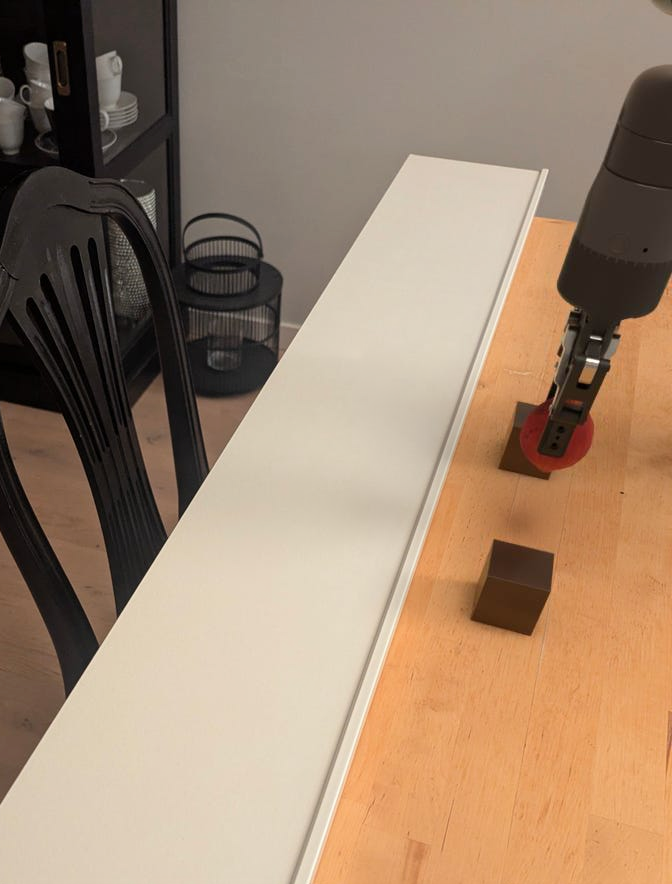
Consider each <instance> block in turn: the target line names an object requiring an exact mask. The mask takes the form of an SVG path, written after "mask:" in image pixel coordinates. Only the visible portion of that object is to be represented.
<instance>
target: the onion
mask: <svg viewBox="0 0 672 884" xmlns="http://www.w3.org/2000/svg"><path fill="white" fill-rule="evenodd" d="M553 400H554V397H553V398H550V399H548V400H547V401H545V400H544V401H543V402H541V403H539V404H537V405H538V406H537V407H535V408H534V409H533V410H532V411H531V412H530V414H529V415H528V417H527V418H526V420H525V422H524V424H523V426H522V429H521V433H520V443H521V447H522V450H523V452H524V454H525V455H526V457H527V458H528V460H529V461H530V462H532V463H533V464H534V465H535V466H536V467H537V468H538V469H539V470H540V471H541V472H546V473H549V472H551V471H552V472H554V471H558V470H559V471H560V470H564V469H567V468H570V467H573V466H574V465H576V464H577V463H579V462H580V461H582V459H583V458H585V457H586V456H587V454H588V452H589V451H590V449H591V447H592V443H593V439H594V435H595V424H594V419H593V418H592V416H591V413H590V412H589V414H588V418H587V421H586V422H585V423H584V425H583V426H578V425H576V428H575V430H574V433H573V435H572V438H571V440H570V442H569V445H568V447H567V450H566V452H565V455H564V456H563V457H562V458H553V457H549V456H544V455H540V454H539V453H538V452H537V447H538V443H539V440H540V438H541V435H542V433H543V430H544V427H545V425H546V422H547V419H548V417H549V413H550V411H549V408H550V405H551V404H552V403H553ZM579 402H580V401H576V400H571V399H568V400H566V401H565V403H570V404H575V405H579ZM552 472H551V473H552Z"/></svg>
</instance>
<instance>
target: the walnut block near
mask: <svg viewBox="0 0 672 884" xmlns="http://www.w3.org/2000/svg"><path fill="white" fill-rule="evenodd" d="M554 563H555V553H554V552H549V551H545V550H541V549H537V548H533V547H529V546H525V545H521V544H516V543H512V542H508V541H504V540H500V539H495V538H494V539H493V540H492V543H491V545H490V547H489V550H488V553H487V555H486V557H485V561H484V564H483V566H482V569H481V572H480V575H479V578H478V579H477V583H476V589H475V594H474V600H473V605H472V611H471V617H470V620H471V621H474V622H479V623H481V624H486V625H488V626H489V625H490V626H493V627H497V628H500V629H505V630H509V631H512V632H516V633H520V634H523V635H528V636H532V635H533V632H534V630H535V628H536V626H537V623H538V621H539V619H540V617H541V615H542V612H543V610H544V608H545V607H546V606H545V605H546V603H547V601H548V599H549V597H550V595H551V592H552V585H553V573H554V565H555V564H554Z"/></svg>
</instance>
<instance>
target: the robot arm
mask: <svg viewBox="0 0 672 884" xmlns="http://www.w3.org/2000/svg"><path fill="white" fill-rule="evenodd" d="M649 1H650V3H651V4H652V5H653V7H655V8H656V9H657V10H659V11H660V12H662V13H664V14H666V15H668V16H671V17H672V0H649ZM571 237H572V238H571V240H570V243H569V246H568V248H567V252H566V255H565V257H564V260H563V263H562V266H561V269H560V272H559V274H558V278H557V280H556V290H557V292H558V294H559V296H560V297H561V298H562V299H563V300H564V301H565V302H566V303H567V304H569V305H570V306H571V307H573V309H569V311H568V313H567V316H566V319H565V322H564V328H563V333H562V335H561V337H560V339H559V343H558V348H557V351H556V355H557V356H558V360H557V361H555V363H554V376H553V378H552V382H551V385H550V387H549V389H548V392H547V394H546V398H545V400H544V402H545V401H547V400H548V399H550V398H553V397H554V400H553V403H552V404H551V405H550V408H549V411H550V413H549V417H548V419H547V422H546V425H545V427H544V430H543V433H542V435H541V438H540V440H539V443H538V447H537V452H538V453H539V454H540V455H544V456H549V457H553V458H562V457H563V456H564V455H565V452H566V450H567V447H568V445H569V442H570V440H571V438H572V435H573V433H574V430H575V428H576V425H578V426H583V425H584V423H585V422H586V421H587V418H588V414H589V413H590V411H591V409H592V407H593V405H594V402H595V401H596V398H597V396H598V395H599V394H598V393H599V392H600V389H601V387H602V385H603V382H604V380H605V378H606V376H607V374H608V373H609V372H610V371H611V366H612V364H611V362H612V361H611V358H612V357H613V356H615V354H616V353H617V350H618V347H619V345H620V341H621V337H622V334H621V333H619V330H620V327H621V324H622V321H625V320H629V319H633V320H635V319H640V318H644V317H646V316H648V315H650V314H652V313H653V312H654V311H655V310H656V309H657V307H658V306H659V304H660V302H661V300H662V297H663V294H664V293H665V290H666V288H667V285H668V283H669V281H670V279H671V277H672V64H669V63H668V64H660V65H655V66H652V67H649V68H646V69H645V70H643V71H641V72H640V74H638V75H637V76H636V77H635V79H634V80H633V81H632V83H631V85H630V87H629V89H628V91H627V93H626V96H625V98H624V101H623V103H622V105H621V108H620V111H619V114H618V116H617V119H616V122H615V125H614V128H613V131H612V134H611V136H610V140H609V142H608V145H607V148H606V151H605V153H604V156H603V160H602V161H601V165H600V167H599V169H598V171H597V173H596V176H595V178H594V180H593V182H592V184H591V186H590V188H589V190H588V192H587V194H586V196H585V199H584V203H583V205H582V208H581V211H580V214H579V217H578V220H577V223H576V226H575V229H574V232H573V234H572V236H571ZM568 399H571V400H576V401H580V402H579V405H575V404H570V403H565V401H566V400H568Z"/></svg>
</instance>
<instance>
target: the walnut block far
mask: <svg viewBox="0 0 672 884" xmlns="http://www.w3.org/2000/svg"><path fill="white" fill-rule="evenodd" d="M538 405H539V404H533V403H529V402H524V401H519V400H517V401H516V404H515V407H514V409H513V412H512V415H511V419H510V421H509V423H508V427H507V430H506V433H505V435H504V438H503V441H502V445H501V451H500V456H499V463H498V467H497V468H498V469H499V470H505V471H507V472H508V471H509V472H513V473H517V474H521V475H526V476H531V477H535V478H539V479H544V480H550V477H551V475H552V472H553V471H551V472H549V473H546V472H541V471H540V470H539V469H538V468H537V467H536V466H535V465H534V464H533V463H532V462H530V461H529V460H528V458H527V457H526V455H525V454H524V452H523V450H522V447H521V443H520V433H521V429H522V426H523V424H524V422H525V420H526V418H527V417H528V415H529V414H530V412H531V411H532V410H533V409H534V408H535V407H537V406H538Z"/></svg>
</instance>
